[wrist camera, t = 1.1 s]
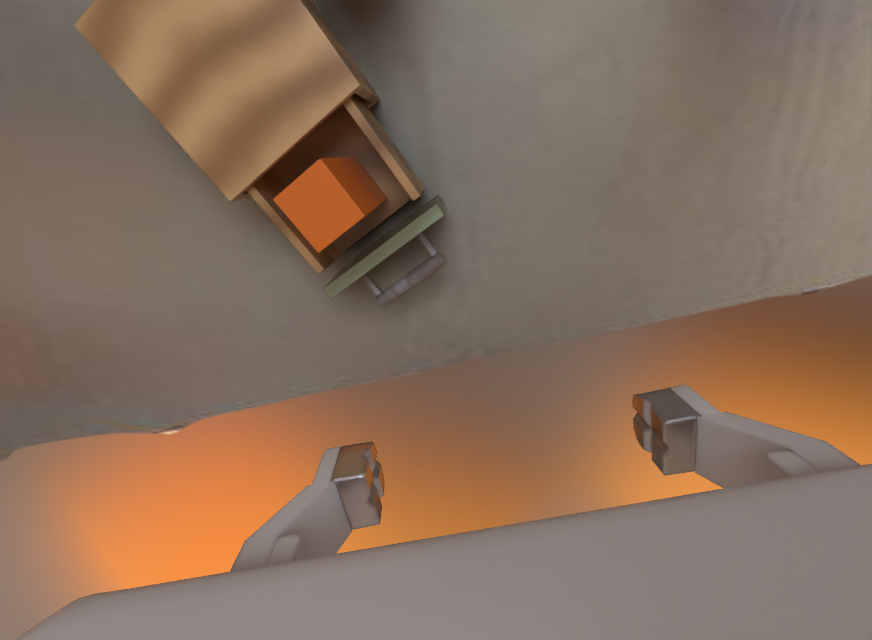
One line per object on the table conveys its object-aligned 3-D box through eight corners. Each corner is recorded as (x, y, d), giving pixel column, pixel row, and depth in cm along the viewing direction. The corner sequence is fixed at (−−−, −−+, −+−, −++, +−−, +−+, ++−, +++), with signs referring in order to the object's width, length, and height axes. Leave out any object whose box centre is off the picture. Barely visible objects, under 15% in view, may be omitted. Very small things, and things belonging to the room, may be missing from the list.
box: (356, 155, 40) (319, 158, 29) (387, 198, 41) (365, 216, 30) (320, 185, 41) (272, 199, 30) (352, 226, 43) (318, 253, 32)
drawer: (468, 236, 44) (471, 253, 37) (372, 304, 47) (358, 332, 40) (355, 75, 38) (332, 58, 31) (256, 165, 42) (215, 168, 34)
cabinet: (380, 99, 40) (360, 85, 31) (274, 191, 43) (230, 202, 35) (266, -66, 35) (204, -138, 26) (158, 53, 39) (73, 25, 30)
